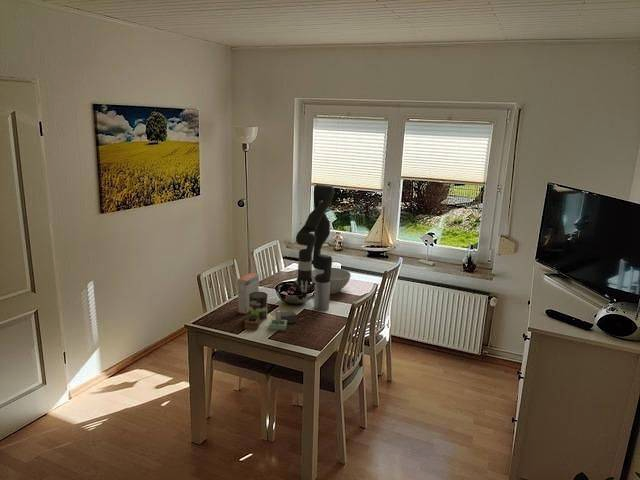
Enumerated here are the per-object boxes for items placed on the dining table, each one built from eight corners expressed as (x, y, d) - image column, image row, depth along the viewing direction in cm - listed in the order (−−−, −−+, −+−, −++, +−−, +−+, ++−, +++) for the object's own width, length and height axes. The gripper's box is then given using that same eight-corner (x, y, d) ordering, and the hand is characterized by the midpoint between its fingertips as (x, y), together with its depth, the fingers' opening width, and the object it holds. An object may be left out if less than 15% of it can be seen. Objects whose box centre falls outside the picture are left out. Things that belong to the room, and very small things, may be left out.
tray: (270, 324, 257) (271, 319, 256) (287, 325, 257) (287, 320, 256) (268, 329, 250) (268, 324, 250) (285, 330, 250) (285, 325, 249)
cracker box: (250, 304, 283) (250, 272, 278) (259, 306, 281) (259, 273, 276) (237, 312, 271) (237, 278, 266) (246, 314, 268) (245, 280, 263)
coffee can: (262, 322, 258) (262, 299, 255) (246, 319, 262) (245, 296, 258) (270, 316, 268) (270, 293, 264) (254, 313, 271) (254, 290, 268)
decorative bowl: (350, 298, 299) (351, 280, 296) (309, 296, 299) (309, 279, 296) (349, 284, 325) (349, 268, 322) (310, 282, 325) (311, 266, 322)
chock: (279, 319, 264) (279, 312, 263) (292, 318, 267) (292, 310, 266) (282, 324, 258) (282, 316, 257) (296, 322, 261) (296, 314, 260)
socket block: (247, 323, 257) (247, 316, 256) (259, 324, 256) (259, 317, 255) (244, 329, 250) (244, 322, 249) (257, 329, 250) (257, 322, 249)
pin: (275, 325, 255) (276, 310, 252) (280, 325, 255) (281, 310, 252) (275, 327, 252) (275, 312, 250) (280, 327, 252) (280, 312, 250)
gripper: (317, 266, 258) (316, 295, 262) (293, 265, 258) (293, 294, 262) (316, 270, 250) (315, 300, 255) (292, 269, 251) (291, 299, 255)
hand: (304, 297), depth 259 cm, fingers closed
